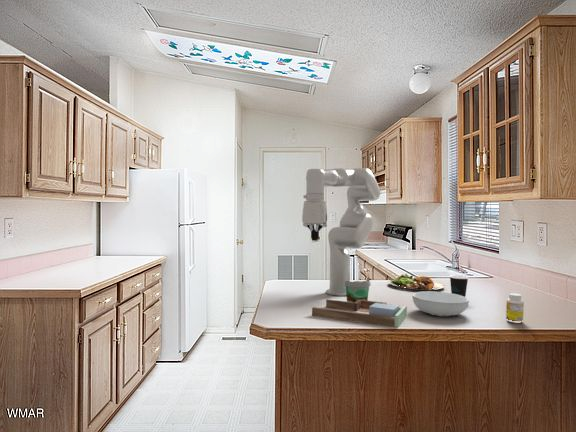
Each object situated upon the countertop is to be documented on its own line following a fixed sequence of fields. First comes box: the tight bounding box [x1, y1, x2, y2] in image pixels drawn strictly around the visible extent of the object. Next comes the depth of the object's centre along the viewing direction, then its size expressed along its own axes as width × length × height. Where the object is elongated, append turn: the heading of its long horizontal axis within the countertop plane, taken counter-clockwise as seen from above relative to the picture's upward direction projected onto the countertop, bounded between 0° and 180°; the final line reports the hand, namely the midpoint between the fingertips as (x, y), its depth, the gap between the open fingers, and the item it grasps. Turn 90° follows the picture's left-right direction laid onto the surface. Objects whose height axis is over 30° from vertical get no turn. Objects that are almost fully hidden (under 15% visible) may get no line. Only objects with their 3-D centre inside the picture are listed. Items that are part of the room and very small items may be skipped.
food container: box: [344, 278, 372, 303], centre depth 182 cm, size 12×6×10 cm, turn 117°
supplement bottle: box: [505, 293, 525, 321], centre depth 157 cm, size 6×6×10 cm
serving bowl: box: [412, 290, 470, 317], centre depth 168 cm, size 21×21×7 cm
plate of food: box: [388, 273, 445, 291], centre depth 223 cm, size 28×28×6 cm
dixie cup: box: [449, 274, 469, 297], centre depth 190 cm, size 8×8×11 cm
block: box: [368, 303, 400, 317], centre depth 157 cm, size 7×9×6 cm
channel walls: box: [311, 299, 402, 328], centre depth 165 cm, size 22×31×3 cm
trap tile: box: [357, 308, 369, 313], centre depth 171 cm, size 5×8×1 cm, turn 64°
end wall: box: [395, 305, 408, 328], centre depth 156 cm, size 16×1×4 cm, turn 154°
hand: (314, 240), depth 184 cm, fingers closed
